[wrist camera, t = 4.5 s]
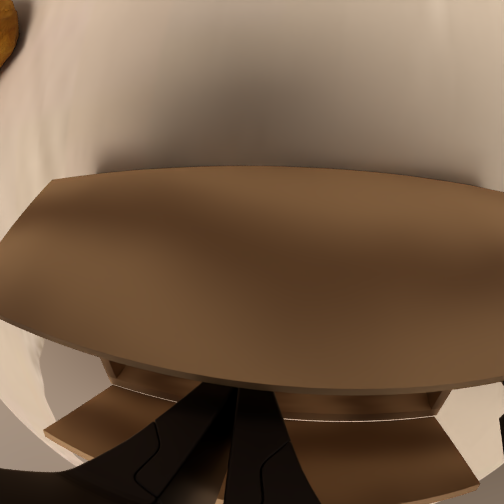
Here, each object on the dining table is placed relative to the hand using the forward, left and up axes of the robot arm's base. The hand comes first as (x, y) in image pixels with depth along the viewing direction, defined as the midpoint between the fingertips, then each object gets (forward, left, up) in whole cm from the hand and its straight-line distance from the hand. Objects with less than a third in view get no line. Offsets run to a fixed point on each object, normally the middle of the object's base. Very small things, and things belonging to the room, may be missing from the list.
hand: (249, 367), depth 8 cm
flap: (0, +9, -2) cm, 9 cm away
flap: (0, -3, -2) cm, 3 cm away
